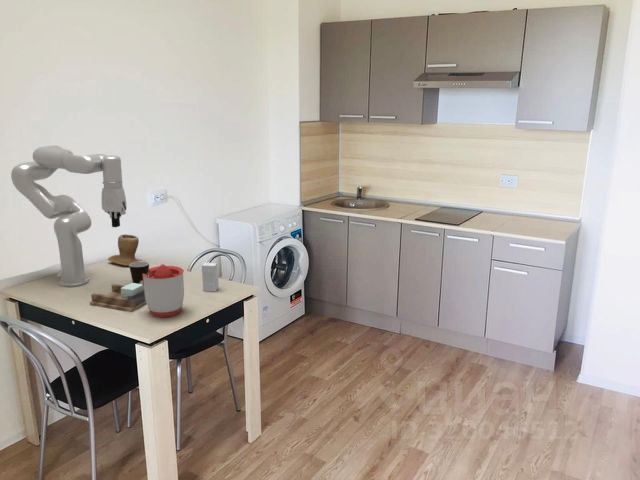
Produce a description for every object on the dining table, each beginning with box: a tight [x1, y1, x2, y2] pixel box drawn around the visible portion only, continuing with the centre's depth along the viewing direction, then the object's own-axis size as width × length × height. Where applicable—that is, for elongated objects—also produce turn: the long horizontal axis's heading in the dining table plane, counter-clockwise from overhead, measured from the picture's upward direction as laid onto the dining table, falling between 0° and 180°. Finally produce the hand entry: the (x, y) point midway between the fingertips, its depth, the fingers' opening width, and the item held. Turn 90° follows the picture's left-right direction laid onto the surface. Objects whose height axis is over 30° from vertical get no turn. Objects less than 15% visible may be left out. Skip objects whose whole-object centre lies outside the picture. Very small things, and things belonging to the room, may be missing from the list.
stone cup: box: [107, 233, 140, 267], centre depth 274 cm, size 15×12×15 cm
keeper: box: [121, 282, 144, 299], centre depth 222 cm, size 6×7×6 cm
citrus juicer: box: [140, 264, 185, 317], centre depth 212 cm, size 16×17×20 cm
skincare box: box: [201, 262, 220, 292], centre depth 238 cm, size 6×4×12 cm
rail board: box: [89, 283, 147, 313], centre depth 224 cm, size 21×16×6 cm
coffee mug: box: [129, 260, 150, 284], centre depth 245 cm, size 12×9×10 cm
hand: (116, 226), depth 234 cm, fingers closed
